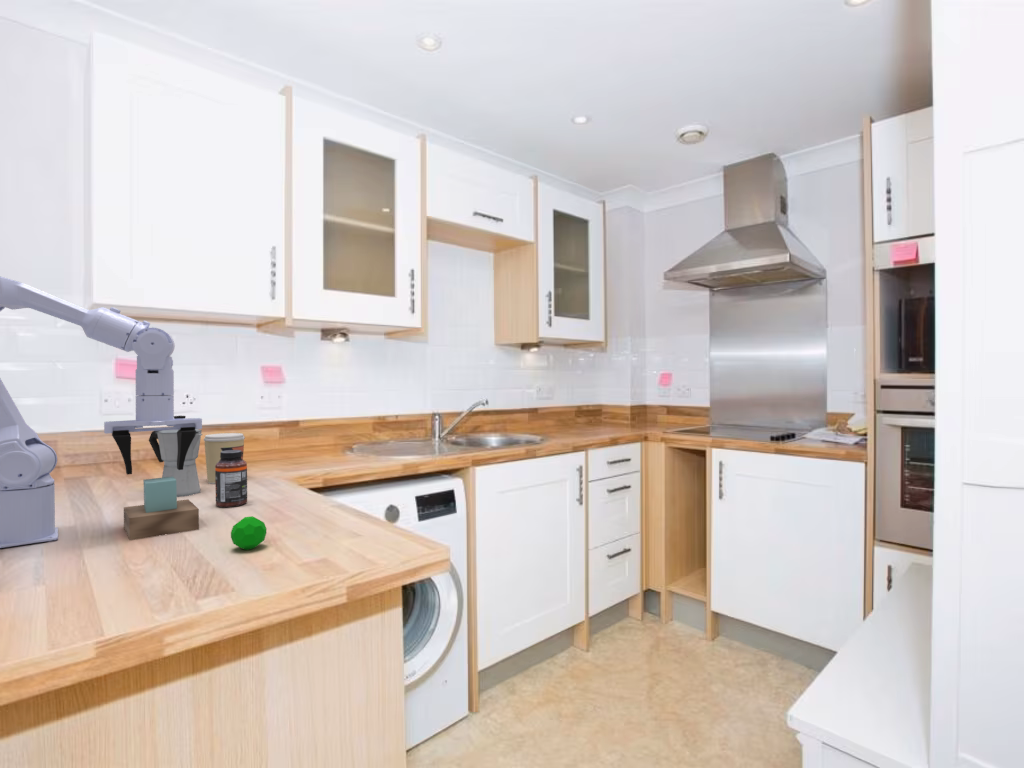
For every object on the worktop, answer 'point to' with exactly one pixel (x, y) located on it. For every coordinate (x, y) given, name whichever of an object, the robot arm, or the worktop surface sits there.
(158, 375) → the robot arm
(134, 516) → the walnut block
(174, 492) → the teal block
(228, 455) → the supplement bottle
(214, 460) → the coffee cup
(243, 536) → the polyhedron
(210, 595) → the worktop surface
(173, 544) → the worktop surface
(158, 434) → the coffee maker
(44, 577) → the worktop surface
